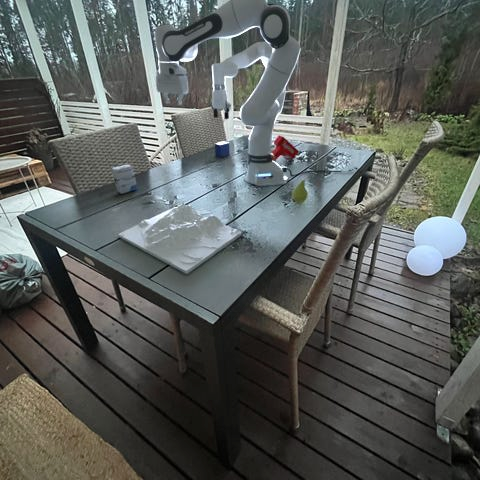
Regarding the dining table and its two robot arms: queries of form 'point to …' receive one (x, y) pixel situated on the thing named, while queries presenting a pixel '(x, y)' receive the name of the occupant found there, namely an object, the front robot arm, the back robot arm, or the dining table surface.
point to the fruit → (300, 192)
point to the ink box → (124, 178)
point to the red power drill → (284, 148)
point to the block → (222, 149)
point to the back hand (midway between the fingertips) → (221, 118)
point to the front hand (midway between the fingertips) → (173, 103)
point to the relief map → (181, 237)
